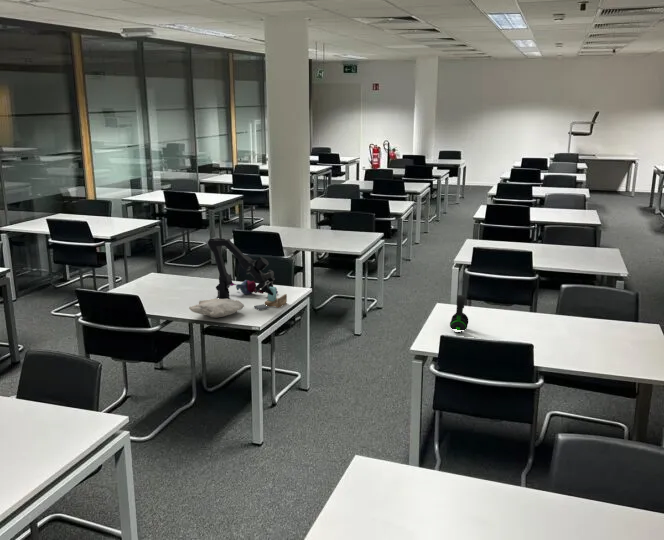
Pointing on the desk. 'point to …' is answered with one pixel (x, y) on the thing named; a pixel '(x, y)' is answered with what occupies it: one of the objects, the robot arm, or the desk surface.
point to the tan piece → (277, 301)
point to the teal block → (272, 297)
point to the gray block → (261, 307)
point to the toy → (248, 287)
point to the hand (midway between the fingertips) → (274, 293)
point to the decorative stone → (217, 307)
